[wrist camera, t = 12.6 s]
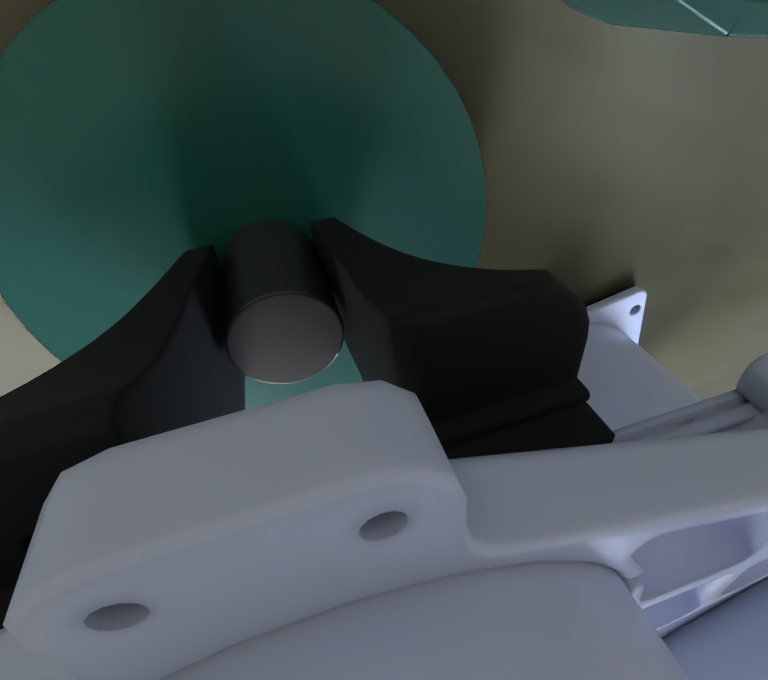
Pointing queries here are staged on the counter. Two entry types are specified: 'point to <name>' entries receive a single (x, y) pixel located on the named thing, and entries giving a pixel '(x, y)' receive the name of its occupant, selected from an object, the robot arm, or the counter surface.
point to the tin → (682, 15)
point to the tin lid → (224, 167)
